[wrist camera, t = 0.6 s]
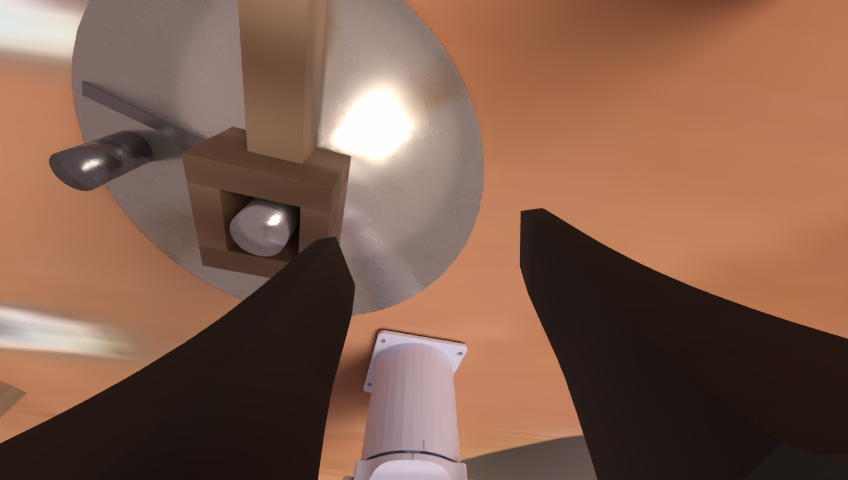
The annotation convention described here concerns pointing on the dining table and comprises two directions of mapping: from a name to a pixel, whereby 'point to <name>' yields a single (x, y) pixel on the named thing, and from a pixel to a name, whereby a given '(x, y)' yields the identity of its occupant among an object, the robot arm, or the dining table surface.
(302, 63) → the knob-topped wooden stand
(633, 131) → the dining table surface
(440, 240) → the plate
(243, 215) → the post
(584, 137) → the dining table surface
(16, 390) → the block tower
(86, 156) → the dowel
